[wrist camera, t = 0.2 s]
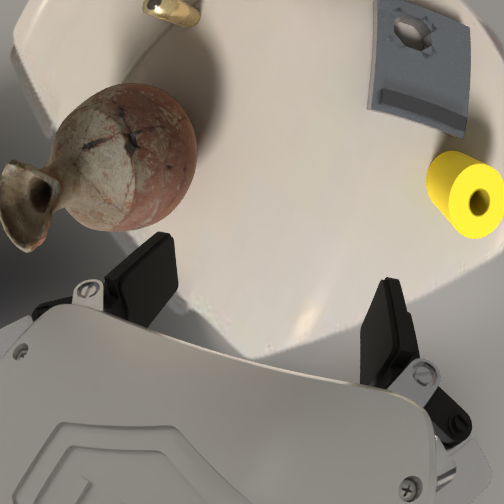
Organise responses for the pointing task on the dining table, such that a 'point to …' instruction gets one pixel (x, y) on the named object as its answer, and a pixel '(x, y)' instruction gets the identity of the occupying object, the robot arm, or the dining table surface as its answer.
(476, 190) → the yellow hollow cylinder
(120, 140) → the jug
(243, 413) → the robot arm
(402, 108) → the jig
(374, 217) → the dining table surface
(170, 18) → the cylinder
